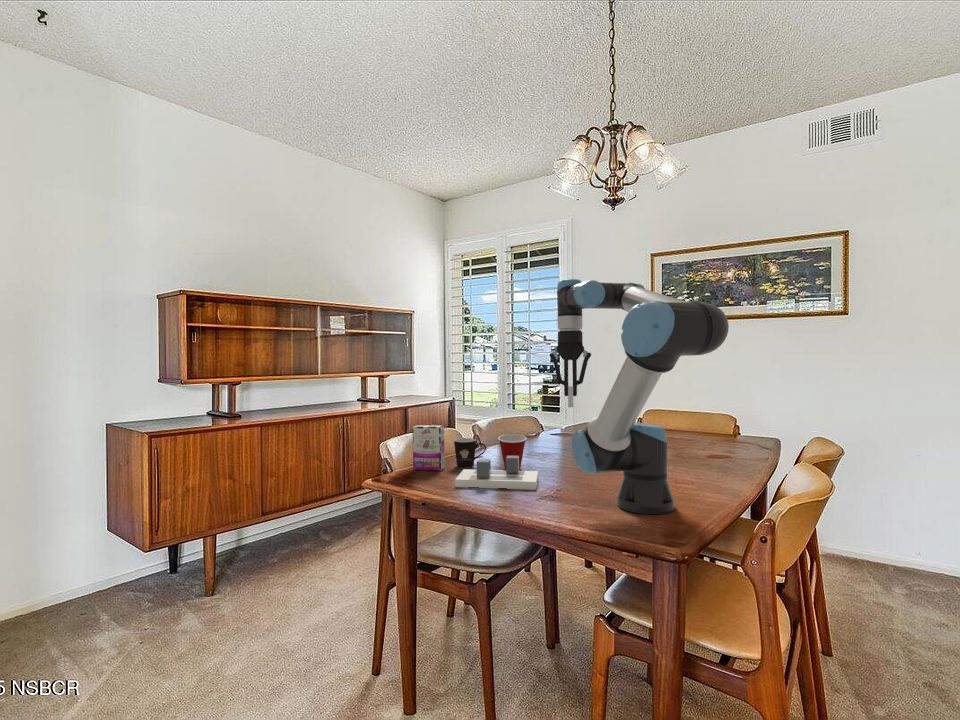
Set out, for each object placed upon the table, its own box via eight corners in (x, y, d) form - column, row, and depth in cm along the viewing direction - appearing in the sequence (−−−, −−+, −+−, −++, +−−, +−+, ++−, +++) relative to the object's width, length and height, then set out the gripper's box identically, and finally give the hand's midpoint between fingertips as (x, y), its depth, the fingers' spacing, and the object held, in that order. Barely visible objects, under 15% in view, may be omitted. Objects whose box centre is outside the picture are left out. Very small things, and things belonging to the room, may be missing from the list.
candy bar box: (445, 468, 187) (444, 425, 187) (441, 471, 182) (440, 426, 182) (417, 467, 190) (416, 424, 190) (412, 470, 185) (411, 426, 185)
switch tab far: (518, 473, 166) (517, 458, 166) (506, 472, 167) (505, 458, 167) (519, 470, 170) (518, 455, 170) (507, 470, 171) (507, 455, 171)
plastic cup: (498, 472, 180) (497, 439, 180) (498, 465, 191) (497, 434, 190) (528, 472, 179) (527, 439, 179) (526, 465, 190) (526, 434, 190)
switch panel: (535, 489, 157) (535, 481, 157) (455, 487, 161) (455, 479, 161) (538, 478, 171) (537, 470, 171) (463, 476, 175) (463, 468, 175)
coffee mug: (449, 467, 189) (449, 441, 188) (461, 462, 196) (460, 437, 196) (476, 470, 183) (476, 443, 183) (487, 465, 191) (487, 439, 191)
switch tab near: (488, 477, 161) (488, 462, 161) (476, 477, 161) (476, 461, 161) (490, 474, 165) (490, 459, 165) (478, 474, 165) (478, 459, 165)
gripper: (590, 330, 156) (591, 405, 156) (548, 331, 158) (549, 405, 158) (592, 329, 148) (593, 408, 149) (548, 330, 151) (549, 408, 151)
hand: (570, 406), depth 154 cm, fingers closed
